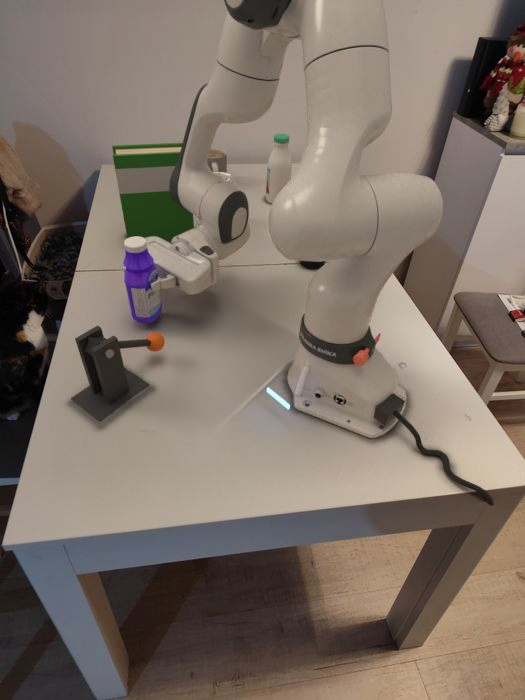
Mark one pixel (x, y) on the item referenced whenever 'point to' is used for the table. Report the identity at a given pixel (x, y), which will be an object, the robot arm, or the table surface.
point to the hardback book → (149, 190)
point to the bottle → (141, 281)
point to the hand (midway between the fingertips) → (137, 279)
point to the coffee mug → (217, 160)
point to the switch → (132, 343)
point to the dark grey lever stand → (105, 377)
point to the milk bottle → (278, 167)
